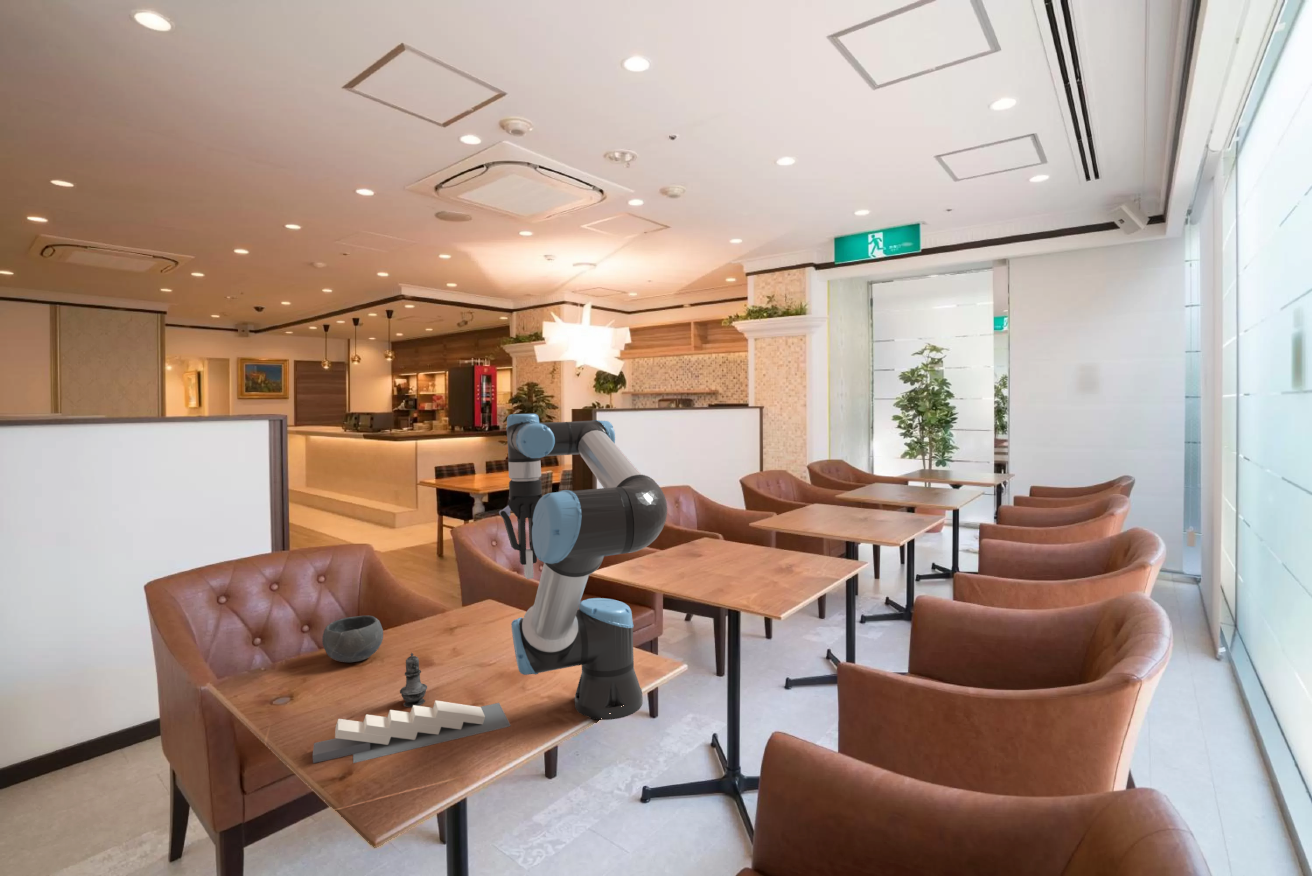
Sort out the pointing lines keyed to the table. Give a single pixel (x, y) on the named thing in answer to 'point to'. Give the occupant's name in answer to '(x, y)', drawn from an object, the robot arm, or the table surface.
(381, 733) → the tile
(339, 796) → the table surface
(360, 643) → the bowl
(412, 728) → the tile
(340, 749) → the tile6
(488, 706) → the mat
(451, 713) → the tile
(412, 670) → the grey chess piece
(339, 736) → the tile
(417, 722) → the tile
